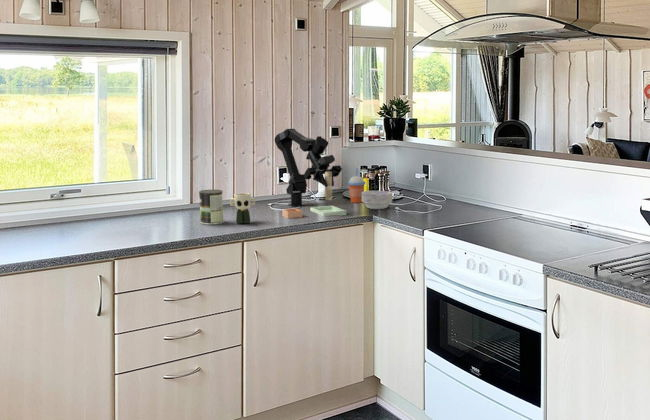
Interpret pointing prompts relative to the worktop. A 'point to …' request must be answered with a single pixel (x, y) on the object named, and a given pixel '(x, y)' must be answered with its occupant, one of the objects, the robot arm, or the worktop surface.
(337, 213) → the sage tray
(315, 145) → the robot arm
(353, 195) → the cup with straw
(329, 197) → the dowel
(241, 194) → the character mug
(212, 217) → the coffee can
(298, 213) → the peach square box
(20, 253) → the worktop surface
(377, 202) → the paper bowls
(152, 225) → the worktop surface
